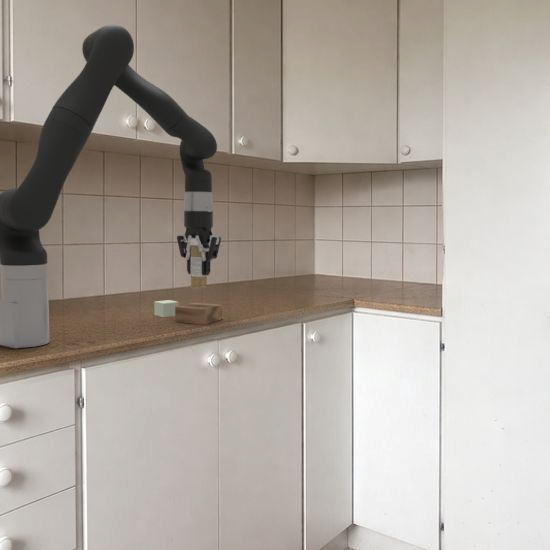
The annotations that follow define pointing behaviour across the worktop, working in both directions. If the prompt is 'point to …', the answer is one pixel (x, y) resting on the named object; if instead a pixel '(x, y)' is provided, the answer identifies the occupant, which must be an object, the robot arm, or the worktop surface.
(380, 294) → the worktop surface
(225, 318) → the worktop surface
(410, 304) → the worktop surface
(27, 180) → the robot arm
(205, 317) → the walnut block
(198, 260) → the sprinkles bottle
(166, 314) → the sage block
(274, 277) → the worktop surface
